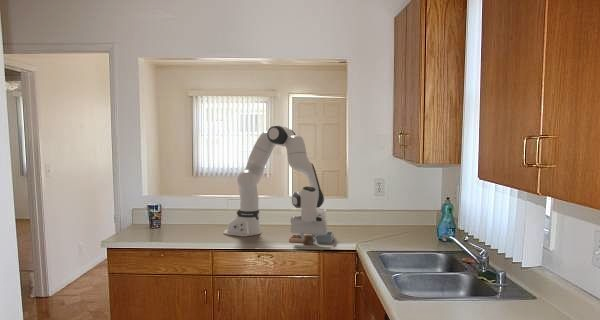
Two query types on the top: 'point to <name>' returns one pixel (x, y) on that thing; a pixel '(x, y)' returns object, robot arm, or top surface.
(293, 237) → the dish
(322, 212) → the jar
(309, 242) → the block
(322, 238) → the grey open box
